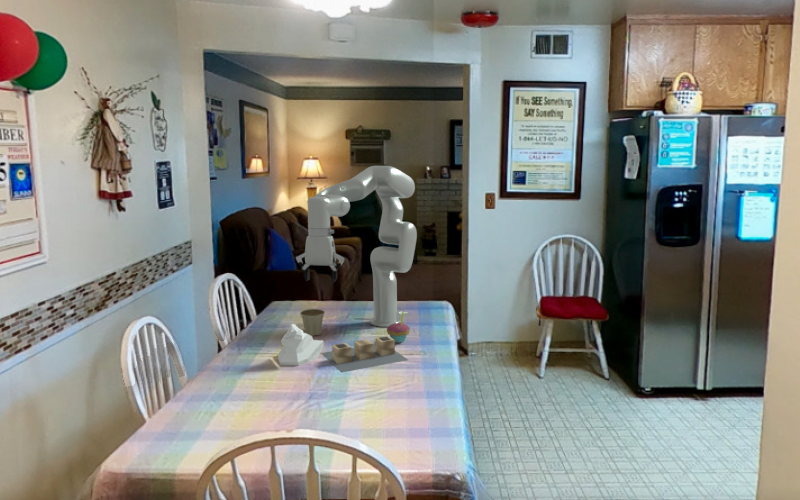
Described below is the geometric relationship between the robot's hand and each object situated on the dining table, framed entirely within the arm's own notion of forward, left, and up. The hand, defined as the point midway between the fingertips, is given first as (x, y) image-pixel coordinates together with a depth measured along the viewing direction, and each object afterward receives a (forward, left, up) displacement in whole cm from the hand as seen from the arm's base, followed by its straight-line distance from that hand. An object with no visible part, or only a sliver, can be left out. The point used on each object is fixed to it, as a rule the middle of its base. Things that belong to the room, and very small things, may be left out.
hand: (320, 281), depth 205 cm
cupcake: (-28, +5, -25) cm, 38 cm away
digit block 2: (-18, +15, -25) cm, 34 cm away
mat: (-10, +15, -25) cm, 31 cm away
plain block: (-10, +15, -25) cm, 30 cm away
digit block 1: (-2, +15, -25) cm, 29 cm away
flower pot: (-3, -19, -25) cm, 32 cm away
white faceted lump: (+11, +7, -25) cm, 29 cm away
